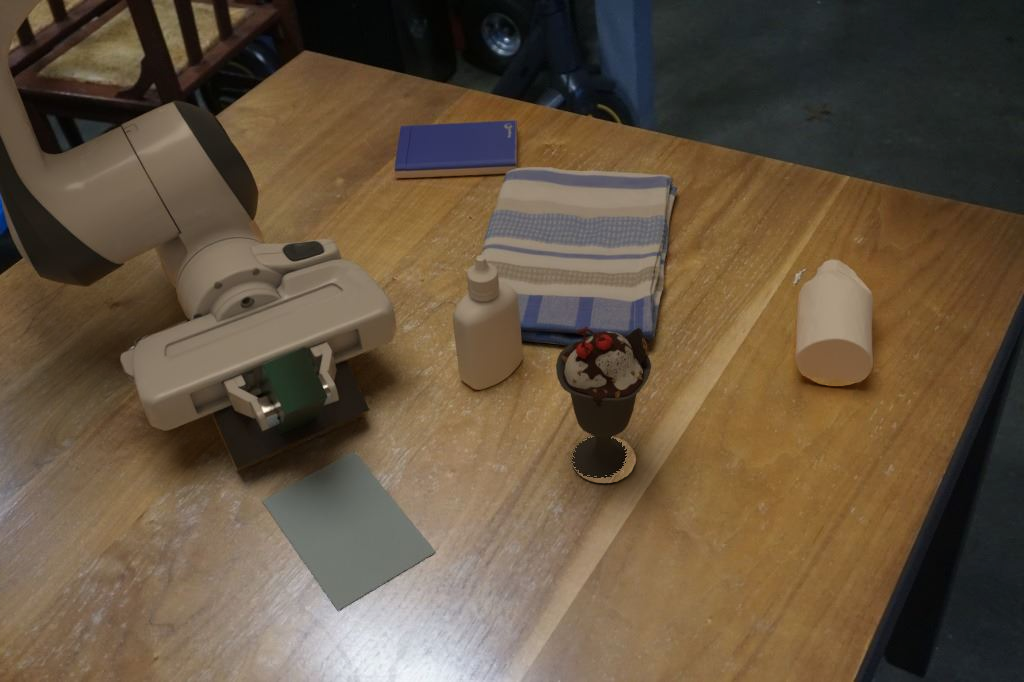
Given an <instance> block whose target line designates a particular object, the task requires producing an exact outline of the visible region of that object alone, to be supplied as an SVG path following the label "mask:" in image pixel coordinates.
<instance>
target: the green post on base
mask: <svg viewBox="0 0 1024 682" xmlns="http://www.w3.org/2000/svg"><path fill="white" fill-rule="evenodd" d="M335 365H336V369H337V371H336V375H335V380H334V383H335V386H336V389H337V392H338V396H339V400H338V401H335V402H333V403H330V404H328V405H325V406H324V404H325V401H326V399H327V394H326V392H325V390H324V387H323V385H322V383H321V381H320V379H319V377H318V375H319V374H318V372H316V370H315V368H314V366H313V364H312V361H311V359H310V357H309V355H308V353H307V350H306V348H305V347H301V348H299V349H297V350H294V351H292V352H289V353H287V354H284V355H282V356H279V357H277V358H275V359H272V360H270V361H267V362H265V363H263V364H262V371H261V378H260V386H259V387H260V389H261V392H262V394H259V395H257V396H256V397H258V398H261V397H264V396H267V395H269V397H270V398H271V400H272V403H273V404H274V405H275V407H276V409H277V412H278V415H279V419H280V421H281V424H278V425H276V426H274V427H271V428H269V429H267V430H264V431H262V430H261V428H260V426H259V424H258V422H257V420H256V418H254V419H253V418H251V417H249V416H246V415H244V414H241V413H239V412H237V411H235V410H234V408H233V406H232V405H231V406H229V407H226V408H224V409H221V410H219V411H216V412H214V413H211V414H210V416H211V418H212V420H213V422H214V424H215V427H216V429H217V430H218V434H219V436H220V438H221V440H222V442H223V445H224V448H225V450H226V451H227V454H228V456H229V459H230V461H231V463H232V464H233V468H234V469H235V471H236V472H240V471H243V470H245V469H247V468H250V467H251V466H254V465H255V464H258V463H260V462H263V461H265V460H268V459H269V458H272V457H274V456H277V455H279V454H281V453H283V452H286V451H288V450H290V449H293V448H295V447H298V446H299V445H302V444H305V443H306V442H308V441H311V440H313V439H316V438H317V437H319V436H323V435H324V434H327V433H328V432H331V431H333V430H336V429H338V428H340V427H342V426H345V425H347V424H350V423H351V422H354V421H356V420H359V419H361V418H363V417H365V416H367V414H368V413H369V411H370V407H369V405H368V403H367V400H366V398H365V397H364V394H363V393H362V390H361V387H360V386H359V384H358V382H357V380H356V377H355V375H354V373H353V371H352V369H351V366H350V364H349V361H348V359H347V360H345V361H342V362H340V363H337V364H335Z"/></svg>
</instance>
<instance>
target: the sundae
mask: <svg viewBox="0 0 1024 682" xmlns="http://www.w3.org/2000/svg"><path fill="white" fill-rule="evenodd" d="M586 331H589V332H591V333H592V334H594V335H593V336H589V337H586V333H585V332H586ZM577 332H578V333H579V334H584V337H583V339H582V340H579V341H577V342H575V343H573V344H570V345H566V346H565V347H564V348H563V349H562V350H561V351H560V352H559V355H558V356H557V360H556V364H555V369H556V376H557V380H558V382H559V384H560V387H561V388H562V389H563V390H564V391H565V392H567V393H568V394H570V398H571V402H572V407H573V412H574V415H575V418H576V421H577V424H578V426H579V427H580V428H581V430H582V431H584V432H585V433H587V434H589V435H590V436H593V435H594V437H592V438H591V437H590V436H589V437H590V438H588V437H586V438H587V440H585V441H582V440H581V441H582V443H580V442H578V444H579V445H578V444H576V445H575V447H574V448H575V451H576V452H575V451H574V453H573V452H572V453H573V456H574V457H575V458H574V457H572V458H573V459H572V461H573V462H575V463H573V462H571V464H572V463H573V466H574V467H576V468H575V469H576V470H579V473H582V474H583V476H587V475H590V476H587V477H593V478H601V477H604V478H606V477H612V476H610V475H614V474H613V473H617V472H616V471H620V470H619V469H621V468H622V466H624V465H623V464H624V463H623V462H624V461H625V458H626V457H627V456H625V455H626V454H627V453H625V452H626V451H627V449H626V450H624V449H625V446H623V447H622V442H621V443H620V442H618V441H617V440H616V439H614V438H612V439H611V437H612V436H617V435H619V434H621V433H622V432H624V431H625V430H626V428H627V427H628V426H629V424H630V421H631V418H632V416H633V412H634V408H635V405H636V404H635V403H636V400H637V394H639V392H640V391H641V390H642V388H643V387H644V386H645V384H646V383H647V382H648V380H649V377H650V374H651V370H652V363H651V360H650V359H651V358H650V356H649V349H648V344H647V345H646V342H645V339H644V337H643V334H642V330H641V329H640V328H637V329H635V330H634V331H633V332H631V333H630V334H629V335H627V336H626V337H623V336H622V335H620V334H618V333H616V332H610V331H603V332H599V333H597V334H596V333H594V332H593V331H591V330H589V329H587V326H586V327H585V328H583V329H580V330H578V331H577ZM576 447H577V448H576ZM625 463H626V462H625ZM573 466H572V467H573ZM577 472H578V471H577ZM605 475H607V476H605ZM594 476H597V477H594Z"/></svg>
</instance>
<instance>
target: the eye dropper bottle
mask: <svg viewBox="0 0 1024 682" xmlns="http://www.w3.org/2000/svg"><path fill="white" fill-rule="evenodd" d="M466 281H467V291H468V292H466V293H465V295H463V297H462V298H461V299H460V301H459V302H458V304H457V305H456V307H455V309H454V310H453V313H452V324H453V325H452V326H453V334H454V341H455V350H456V358H457V365H458V373H459V379H461V381H462V382H464V383H465V384H466V385H467V386H469V387H470V388H471V389H473V390H479V391H481V390H485V389H488V388H490V387H492V386H495V385H497V384H499V383H501V382H503V381H504V380H506V379H507V378H508V377H510V376H511V375H512V374H513V373H514V372H515V371H516V369H518V367H519V366H520V364H521V363H522V361H523V355H524V354H523V341H522V338H521V325H520V312H519V301H518V295H517V293H516V291H515V290H514V289H513V288H512V287H510V286H509V285H507V284H505V283H503V282H499V279H498V270H497V268H496V267H495V266H494V265H492V264H489V263H487V261H486V258H485V256H483V255H481V254H480V255H477V256H476V257H475V263H474V264H473V265H471V266H470V267H468V269H467V271H466Z"/></svg>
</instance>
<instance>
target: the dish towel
mask: <svg viewBox="0 0 1024 682" xmlns="http://www.w3.org/2000/svg"><path fill="white" fill-rule="evenodd" d="M673 180H674V179H673V177H672V176H669V174H668V173H667V174H662V173H658V174H651V173H650V174H649V173H644V172H643V173H642V172H624V171H610V170H609V171H604V170H598V169H597V170H596V169H595V170H594V169H593V170H574V169H573V170H572V169H559V168H557V167H556V168H555V167H550V166H545V167H544V166H543V167H542V166H526V167H525V166H524V167H517V168H516V169H513V170H511V171H509V172H507V173H505V175H504V178H503V180H502V185H501V187H500V189H499V192H498V195H497V199H496V203H495V205H494V208H493V211H492V213H491V216H490V219H489V222H488V225H487V229H486V232H485V235H484V239H483V247H482V251H481V253H480V255H483V256H485V258H486V261H487V263H489V264H492V265H494V266H495V267H496V268H497V270H498V279H499V282H503V283H505V284H507V285H509V286H510V287H512V288H513V289H514V290H515V291H516V293H517V295H518V301H519V312H520V325H521V338H522V342H531V343H539V344H540V343H541V344H542V343H543V344H553V345H559V346H569V345H570V344H573V343H575V342H577V341H579V340H582V339H583V337H584V334H579V333H578V332H577V331H578V330H580V329H583V328H585V327H586V326H587V329H589V330H591V331H593V332H594V333H596V334H597V333H599V332H603V331H610V332H616V333H618V334H620V335H622V336H623V337H626V336H627V335H629V334H630V333H631V332H633V331H634V330H635V329H637V328H640V329H641V330H642V334H643V337H644V339H645V342H646V345H647V346H648V342H649V340H654V339H655V336H656V335H655V334H656V328H657V323H658V317H659V309H660V303H661V297H662V292H663V291H664V286H665V276H664V275H665V264H666V256H667V253H668V248H669V247H668V245H669V235H670V222H671V217H672V211H673V206H674V202H675V198H676V193H677V190H678V186H677V185H675V184H673ZM585 333H586V337H589V336H593V335H594V334H592V333H591V332H589V331H586V332H585Z"/></svg>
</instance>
